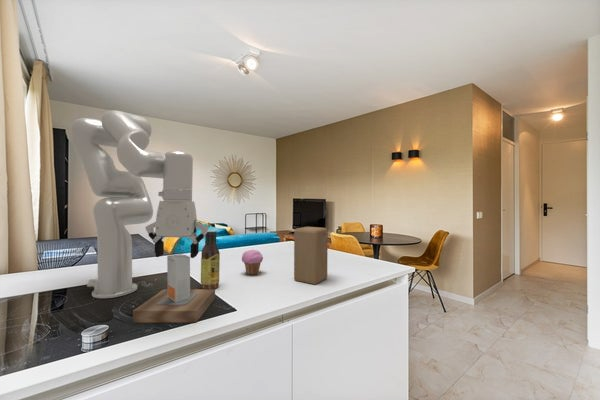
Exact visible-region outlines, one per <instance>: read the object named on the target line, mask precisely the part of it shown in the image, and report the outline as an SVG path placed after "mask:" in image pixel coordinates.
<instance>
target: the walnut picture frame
mask: <svg viewBox="0 0 600 400" xmlns="http://www.w3.org/2000/svg"><path fill="white" fill-rule="evenodd" d="M215 300H216V288H214V289H202V288H201V289H199V288H195V289H191V288H190V299H188V300H184V301H180V302H174V301H173V300H172V299H170V298H169V297H168V288H166V289H165V288H164V289H162V290H161V291H159V292H157V293H156V294H155V295H154V296H152V297H151V298H149V299H148V300H147V301H145V302H143V303H142V304H141V305H139V306H138V307H137V308H135V309H133V310H132V323H134V324H135V323H141V324H142V323H147V324H149V323H154V324H155V323H157V324H158V323H160V324H161V323H168V324H169V323H174V324H175V323H178V324H179V323H181V324H182V323H189V324H190V323H192V324H193V323H197V322H198V321H199V320H200V319H201V317H202V316H203V315H204V314H205V312H206V311H207V310H208V309H209V307H210V306H211V304H212V303H213V302H214V301H215Z"/></svg>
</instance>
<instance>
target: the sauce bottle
mask: <svg viewBox="0 0 600 400" xmlns="http://www.w3.org/2000/svg"><path fill="white" fill-rule="evenodd" d="M217 235H218V231H217V230H208V231H207V233H206V235H205V237H204V238H205V240H204V241H205V242H204V246H203V247H202V250H201V259H200V284H201V285H200V287H201V289H217V288H218V287H219V285H220V284H219V283H220V265H221V263H220V260H221V259H220V255H221V254H220V251H219V248H218V244H217Z"/></svg>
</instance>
